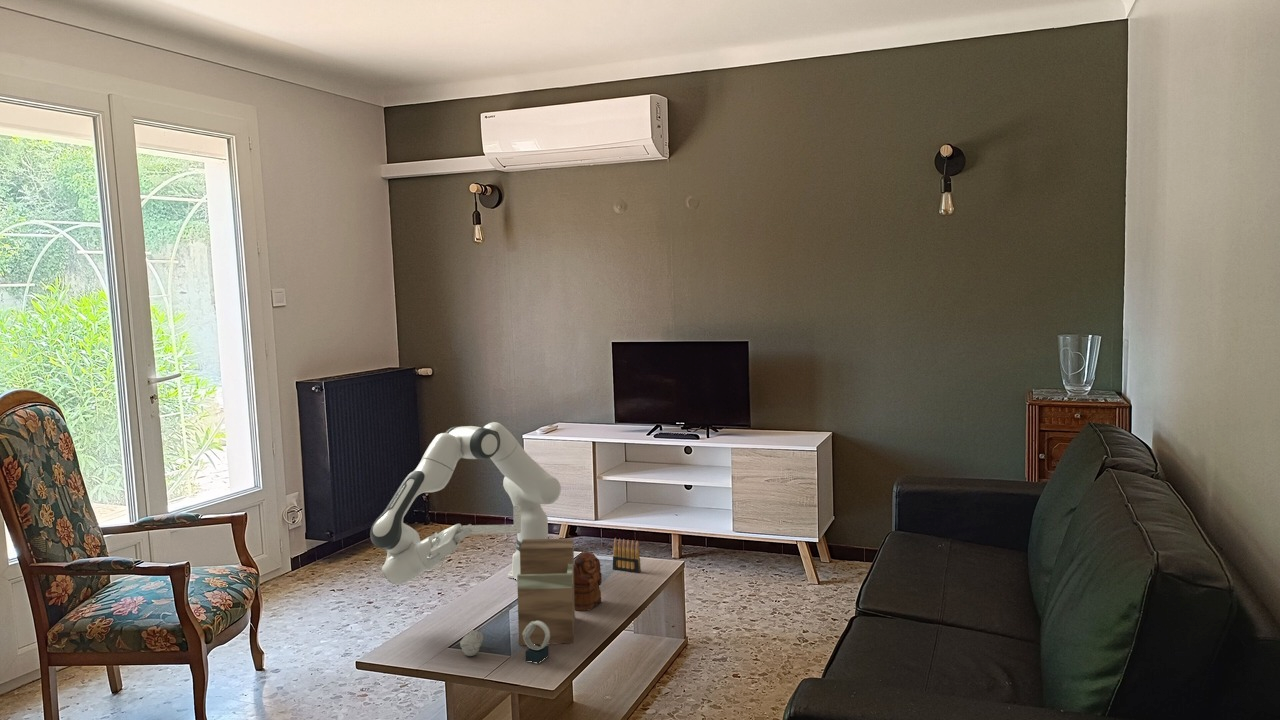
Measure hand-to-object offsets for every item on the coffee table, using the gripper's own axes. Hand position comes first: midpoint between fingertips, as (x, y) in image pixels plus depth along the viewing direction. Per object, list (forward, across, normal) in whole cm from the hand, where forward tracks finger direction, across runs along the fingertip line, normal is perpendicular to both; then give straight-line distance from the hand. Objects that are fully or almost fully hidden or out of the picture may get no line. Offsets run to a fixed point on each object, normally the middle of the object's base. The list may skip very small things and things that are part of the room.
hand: (471, 528), depth 271 cm
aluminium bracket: (+5, 0, +4) cm, 6 cm away
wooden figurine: (+15, +16, +45) cm, 50 cm away
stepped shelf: (+4, -4, +39) cm, 39 cm away
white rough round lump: (-14, -21, +29) cm, 38 cm away
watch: (+3, -24, +38) cm, 45 cm away
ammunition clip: (+27, +50, +52) cm, 77 cm away
